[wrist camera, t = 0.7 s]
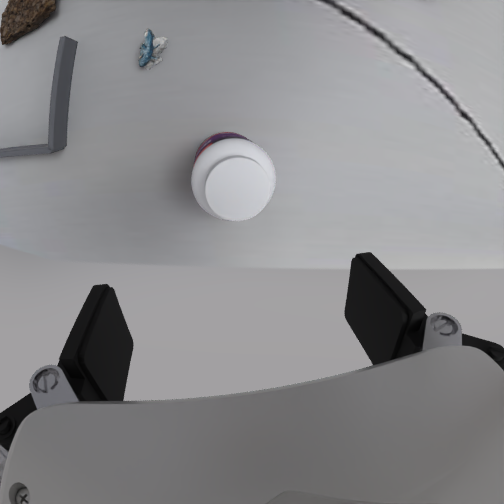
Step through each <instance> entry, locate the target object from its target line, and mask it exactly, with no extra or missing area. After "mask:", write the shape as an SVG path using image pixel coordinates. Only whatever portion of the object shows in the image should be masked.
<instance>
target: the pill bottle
mask: <svg viewBox="0 0 504 504" xmlns="http://www.w3.org/2000/svg"><path fill="white" fill-rule="evenodd" d="M275 184H276V173H275V168H274V165H273V163H272V160H271V159H270V157H269V156H268V154H267V153H266V152H265V151H264V150H263V149H262V148H261V147H260V146H258V145H257V144H255V143H253V142H252V141H250V140H249V139H247V138H246V137H244V136H242V135H240V134H237V133H233V132H222V133H218V134H215V135H213V136H211V137H209V138H208V139H206V140H205V141H204V142H203V143H202V144H201V146H200V147H199V149H198V151H197V153H196V156H195V161H194V166H193V170H192V176H191V186H192V191H193V194H194V197H195V199H196V200H197V202H198V204H199V205H200V206H201V207H202V208H203V209H204V210H205V211H206V212H207V213H208V214H210V215H212V216H214V217H216V218H219V219H222V220H228V221H242V220H247V219H249V218H252V217H254V216H255V215H257V214H258V213H259V212H260V211H261V210H262V209H263V208H264V207H265V206H266V205H267V203H268V202H269V201H270V199H271V197H272V195H273V192H274V189H275Z"/></svg>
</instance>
